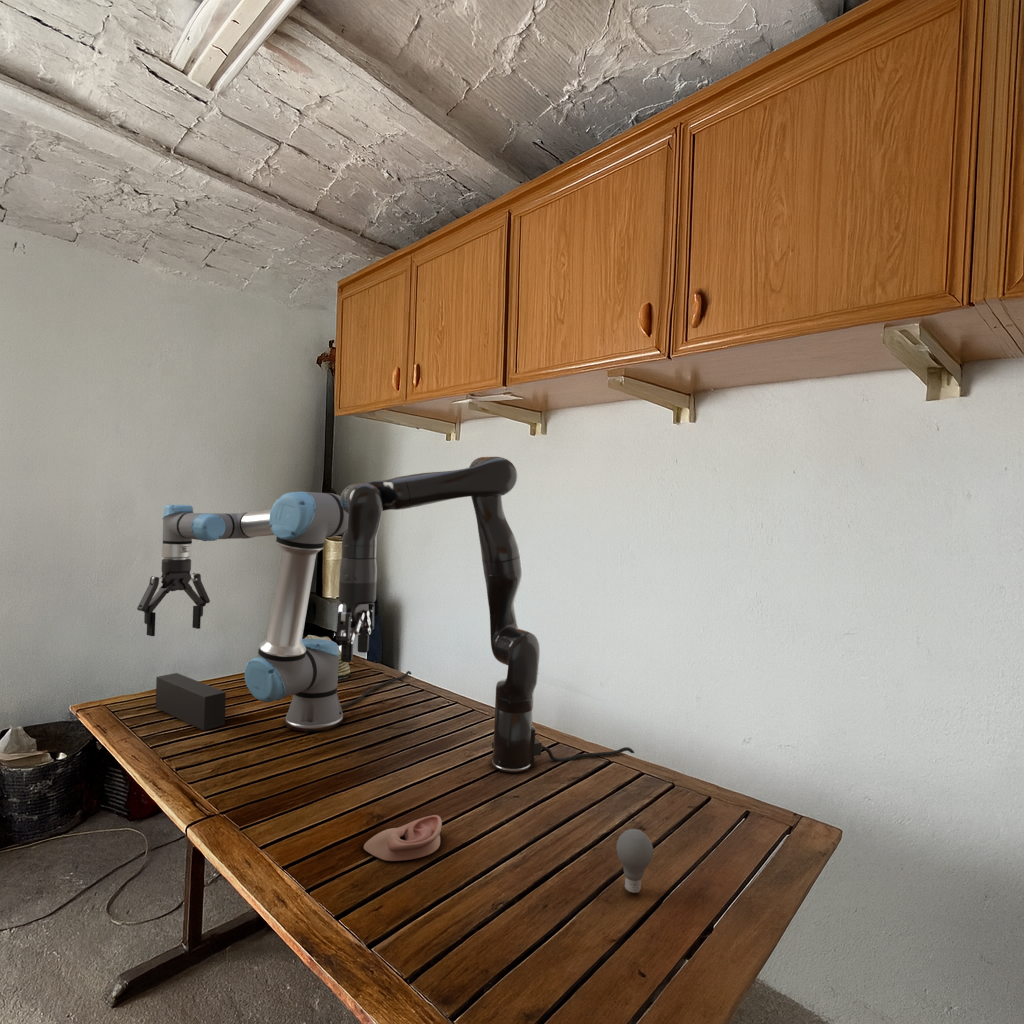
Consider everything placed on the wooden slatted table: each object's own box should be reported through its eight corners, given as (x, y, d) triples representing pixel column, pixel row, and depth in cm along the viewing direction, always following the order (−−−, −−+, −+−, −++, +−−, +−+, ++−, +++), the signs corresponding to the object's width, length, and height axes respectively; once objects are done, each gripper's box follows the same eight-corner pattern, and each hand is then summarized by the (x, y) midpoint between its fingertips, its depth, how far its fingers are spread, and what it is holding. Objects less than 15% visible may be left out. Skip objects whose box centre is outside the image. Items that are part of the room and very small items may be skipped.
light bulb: (610, 879, 108) (613, 822, 108) (644, 879, 109) (647, 822, 109) (619, 902, 102) (622, 840, 102) (655, 901, 103) (658, 840, 103)
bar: (155, 707, 183) (156, 676, 183) (175, 703, 187) (176, 672, 187) (203, 730, 167) (204, 696, 167) (224, 725, 172) (226, 692, 172)
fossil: (290, 679, 215) (292, 635, 215) (341, 671, 228) (342, 629, 227) (301, 686, 209) (303, 640, 208) (353, 677, 221) (354, 634, 221)
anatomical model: (356, 833, 112) (382, 804, 123) (355, 856, 112) (381, 824, 123) (428, 845, 109) (448, 813, 121) (427, 868, 109) (447, 834, 121)
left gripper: (140, 562, 170) (137, 640, 170) (223, 556, 191) (221, 626, 191) (124, 559, 173) (122, 636, 174) (208, 554, 195) (206, 623, 195)
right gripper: (362, 584, 124) (358, 667, 124) (387, 576, 138) (384, 650, 138) (325, 582, 125) (322, 663, 125) (354, 574, 139) (351, 647, 139)
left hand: (174, 631), depth 183 cm, fingers open, 13 cm apart
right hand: (355, 656), depth 132 cm, fingers open, 8 cm apart
